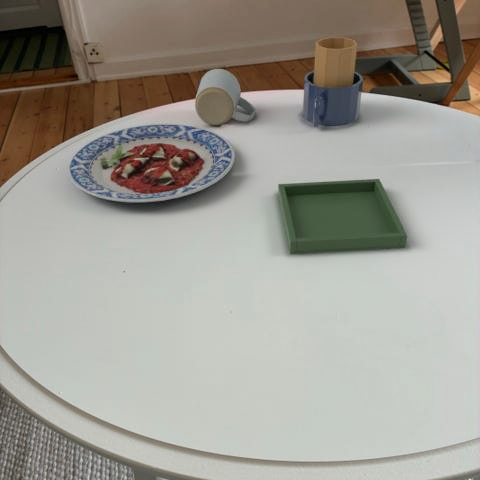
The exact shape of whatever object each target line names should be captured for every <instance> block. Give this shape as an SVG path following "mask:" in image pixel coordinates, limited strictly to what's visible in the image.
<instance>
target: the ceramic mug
mask: <svg viewBox="0 0 480 480" xmlns="http://www.w3.org/2000/svg"><path fill="white" fill-rule="evenodd" d="M241 93H242V90H241V84H240V83H239V80H238V79H237V77H236V76H235V75H234V74H233V73H231V72H230V71H229V70H226V69H224V68H214V69H211V70H209V71H207V72H205V73H204V75H203V76H202V77H201V80H200V82H199V86H198V89H197V93H196V95H195V98H194V99H195V100H194V107H195V108H194V109H195V112H196V114H197V116H198V117H199V118H200V119H201V121H202V122H204V123H205V124H208V125H209V126H215V127H216V126H221V125H224V124H226V123H228V122H229V121H230V120H231V119H233V120H235V121H238V122H242V123H247V122H250V121H252V120H253V119H254V118H255V116H256V114H257V111H256V108H255V106H254V105H253V104H251V102H249V101H248V100H247V99H245V98H243V97H242V96H241ZM238 106H239V107H240V108H242V109H243V110H244V111H246V112H247V113H249V114H245V113H243V112H240V111H237V107H238Z"/></svg>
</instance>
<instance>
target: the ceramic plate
mask: <svg viewBox="0 0 480 480" xmlns="http://www.w3.org/2000/svg"><path fill="white" fill-rule="evenodd" d="M76 151H77V152H75V154H73V156H72V157H71V159H70V160H69V163H68V167H67V171H68V176H69V178H70V180H71V183H73V184H74V185H75V186H76V187H77V188H78V189H79V190H81V191H83V192H85V193H86V194H87V195H88V194H89V195H91V196H94V197H96V198H99V199H103V200H108V201H113V202H120V203H122V202H123V203H152V202H153V203H154V202H162V201H167V200H172V199H178V198H182V197H185V196H188V195H192V194H195V193H198V192H200V191H203V190H205V189H206V188H209V187H210V186H212V185H214V184H216V183H218V182H219V181H220V180H221V179H223V178H224V177H225V176H226V175H227V174H228V173H229V172H230V170H231V169H232V168H233V167H234V166H233V165H234V163H235V159H236V152H235V149H234V147H233V146H232V144H231V143H230V142H229V140H227V139H226V138H225V137H224V136H222V135H220V134H219V133H216V132H214V131H212V130H210V129H207V128H203V127H199V126H196V125H188V124H187V125H186V124H179V123H152V124H143V125H137V126H131V127H125V128H122V129H119V130H115V131H111V132H109V133H106V134H104V135H101V136H99V137H96V138H95V139H93V140H91V141H89V142H87V143H86V144H84V146H82V147H81V148H80V149H78V150H76Z"/></svg>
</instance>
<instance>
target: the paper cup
mask: <svg viewBox="0 0 480 480" xmlns="http://www.w3.org/2000/svg"><path fill="white" fill-rule="evenodd" d="M314 49H315V50H314V63H313V64H314V65H313V71H314V80H313V84H315V85H318V86H322V87H329V88H340V87H347V86H351V85H353V79H354V72H355V71H356V70H355V69H356V61H357V60H356V59H357V51H358V50H357V49H358V43H357V42H356V40H355V39H351V38H348V37H343V36H342V37H340V36H330V37H325V38H320V39H319V40H317V41H316V42H315V48H314Z"/></svg>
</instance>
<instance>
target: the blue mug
mask: <svg viewBox="0 0 480 480" xmlns="http://www.w3.org/2000/svg"><path fill="white" fill-rule="evenodd" d="M313 80H314V70H312V71H309V72H307V74H305V75H304V79H303V97H302V98H303V99H302V117H303V118H304V119H305V121H307V122H309V123H311V124H312V126H313V128H318V127H319V126H323V127H340V126H345V125H350V124H353V123H354V122H355V121H357V120H358V119H359V117H360V110H361V108H360V107H361V100H362V92H363V85H364V84H363V83H364V79H363V75H361V74H360V73H359V72H357V71H354V79H353V85H351V86H347V87H340V88H329V87H322V86H318V85H315V84H313Z"/></svg>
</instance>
